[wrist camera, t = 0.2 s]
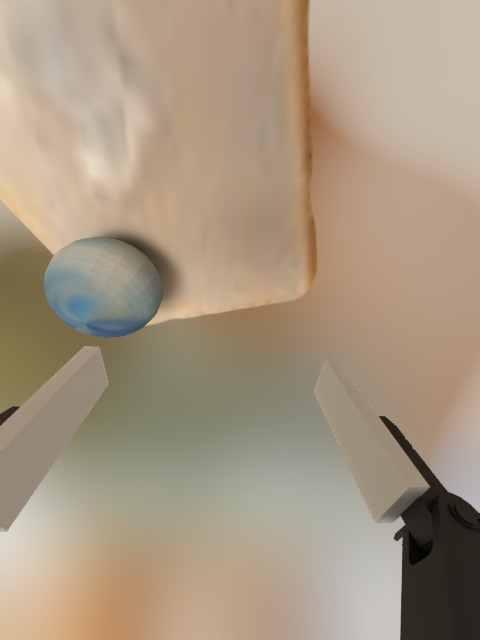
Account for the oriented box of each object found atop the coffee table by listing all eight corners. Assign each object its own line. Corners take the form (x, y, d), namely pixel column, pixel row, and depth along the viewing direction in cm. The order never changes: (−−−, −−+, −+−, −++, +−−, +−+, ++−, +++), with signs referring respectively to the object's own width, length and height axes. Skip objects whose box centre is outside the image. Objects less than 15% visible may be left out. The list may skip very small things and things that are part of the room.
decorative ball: (65, 253, 36) (-10, 311, 25) (116, 199, 30) (47, 244, 19) (138, 308, 45) (105, 368, 34) (189, 274, 39) (169, 334, 28)
